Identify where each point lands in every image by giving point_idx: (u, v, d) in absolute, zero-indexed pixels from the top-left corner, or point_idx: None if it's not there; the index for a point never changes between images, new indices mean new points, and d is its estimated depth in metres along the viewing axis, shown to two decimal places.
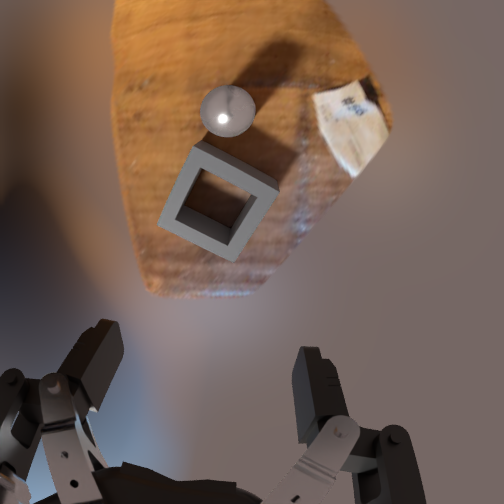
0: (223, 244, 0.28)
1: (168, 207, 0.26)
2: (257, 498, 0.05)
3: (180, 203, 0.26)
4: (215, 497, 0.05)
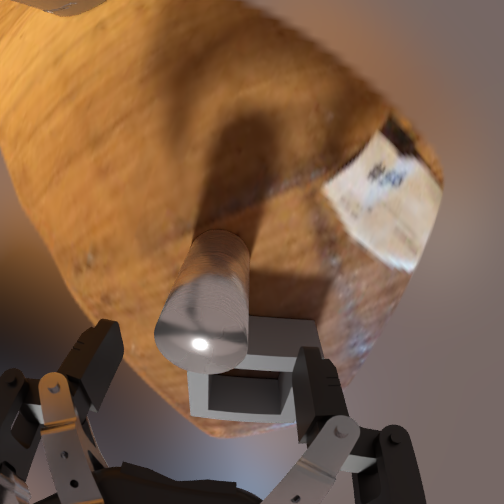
0: (275, 414, 0.20)
1: (194, 402, 0.19)
2: (257, 498, 0.05)
3: (206, 398, 0.19)
4: (215, 497, 0.05)
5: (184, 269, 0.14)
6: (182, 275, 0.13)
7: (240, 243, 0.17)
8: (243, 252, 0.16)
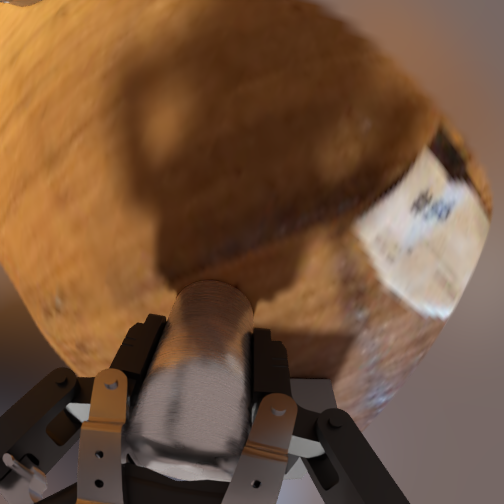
0: None
1: None
2: None
3: None
4: (215, 497, 0.05)
5: (161, 351, 0.09)
6: (157, 364, 0.08)
7: (240, 301, 0.12)
8: (244, 315, 0.12)
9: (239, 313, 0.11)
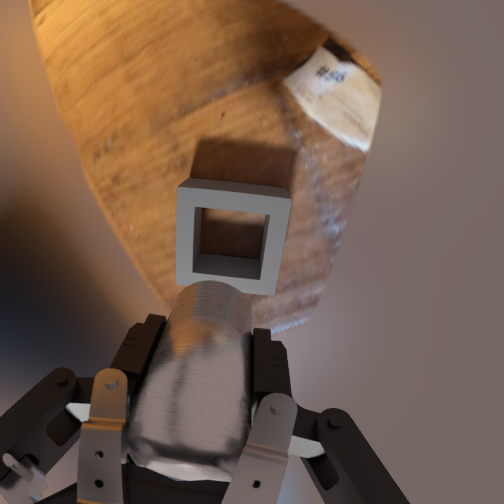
0: (255, 279, 0.24)
1: (180, 262, 0.24)
2: None
3: (190, 253, 0.23)
4: (215, 497, 0.05)
5: (160, 351, 0.09)
6: (157, 364, 0.08)
7: (240, 301, 0.12)
8: (244, 315, 0.12)
9: (239, 313, 0.11)
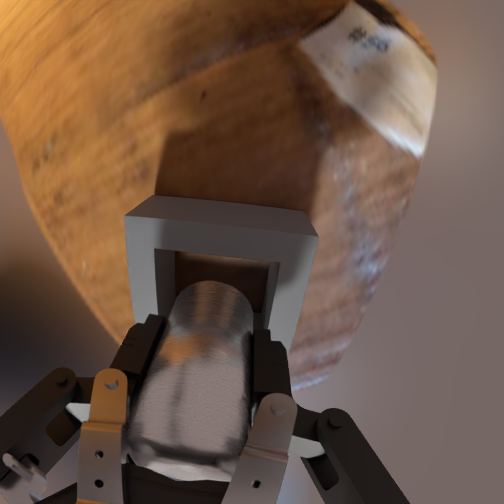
0: None
1: None
2: None
3: None
4: (215, 497, 0.05)
5: (161, 352, 0.09)
6: (157, 364, 0.08)
7: (240, 301, 0.12)
8: (244, 316, 0.12)
9: (239, 314, 0.11)
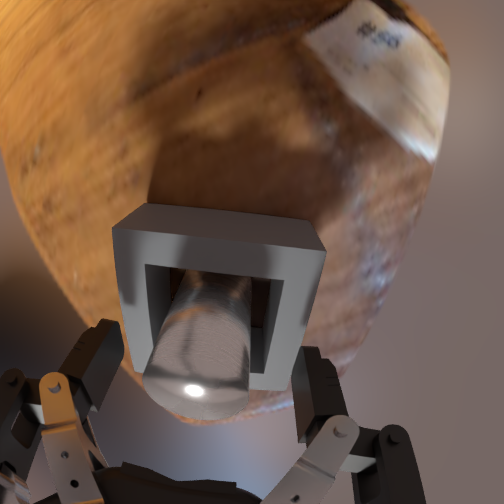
0: (255, 373, 0.14)
1: (134, 344, 0.13)
2: (257, 498, 0.05)
3: (148, 334, 0.13)
4: (215, 497, 0.05)
5: (176, 303, 0.12)
6: (174, 311, 0.11)
7: None
8: (244, 279, 0.14)
9: (240, 277, 0.14)
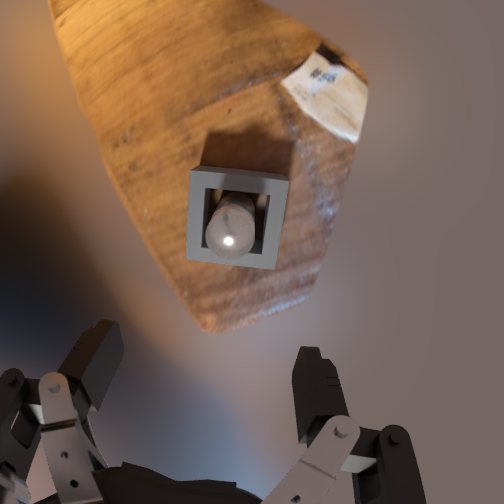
0: (257, 254, 0.27)
1: (190, 237, 0.27)
2: (257, 498, 0.05)
3: (200, 229, 0.26)
4: (215, 497, 0.05)
5: (219, 206, 0.25)
6: (219, 208, 0.24)
7: (249, 199, 0.28)
8: (251, 203, 0.28)
9: (249, 201, 0.28)
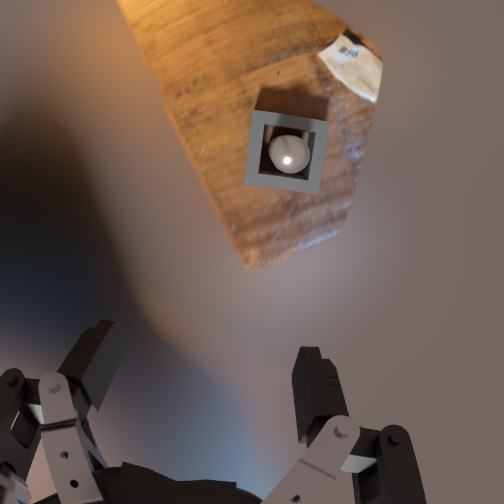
0: (304, 180, 0.32)
1: (249, 165, 0.31)
2: (257, 498, 0.05)
3: (258, 157, 0.31)
4: (215, 497, 0.05)
5: (276, 138, 0.29)
6: (277, 138, 0.29)
7: None
8: None
9: None
